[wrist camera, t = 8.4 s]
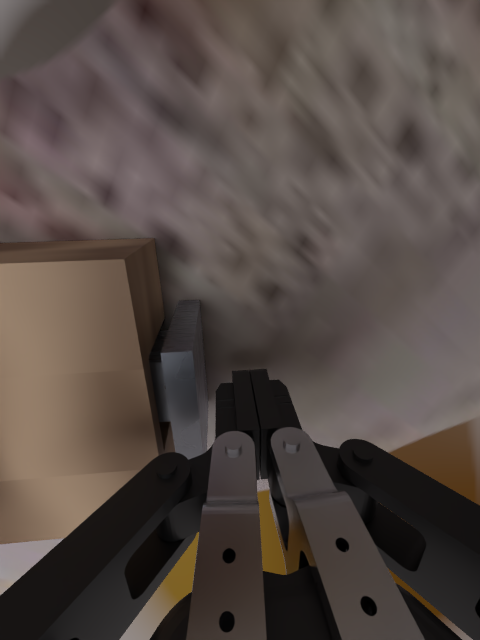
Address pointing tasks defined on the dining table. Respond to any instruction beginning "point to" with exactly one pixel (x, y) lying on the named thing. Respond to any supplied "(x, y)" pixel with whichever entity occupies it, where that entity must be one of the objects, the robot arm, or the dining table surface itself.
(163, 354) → the steel block
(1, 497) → the block
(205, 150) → the dining table surface
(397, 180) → the dining table surface
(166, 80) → the dining table surface
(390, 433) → the dining table surface
